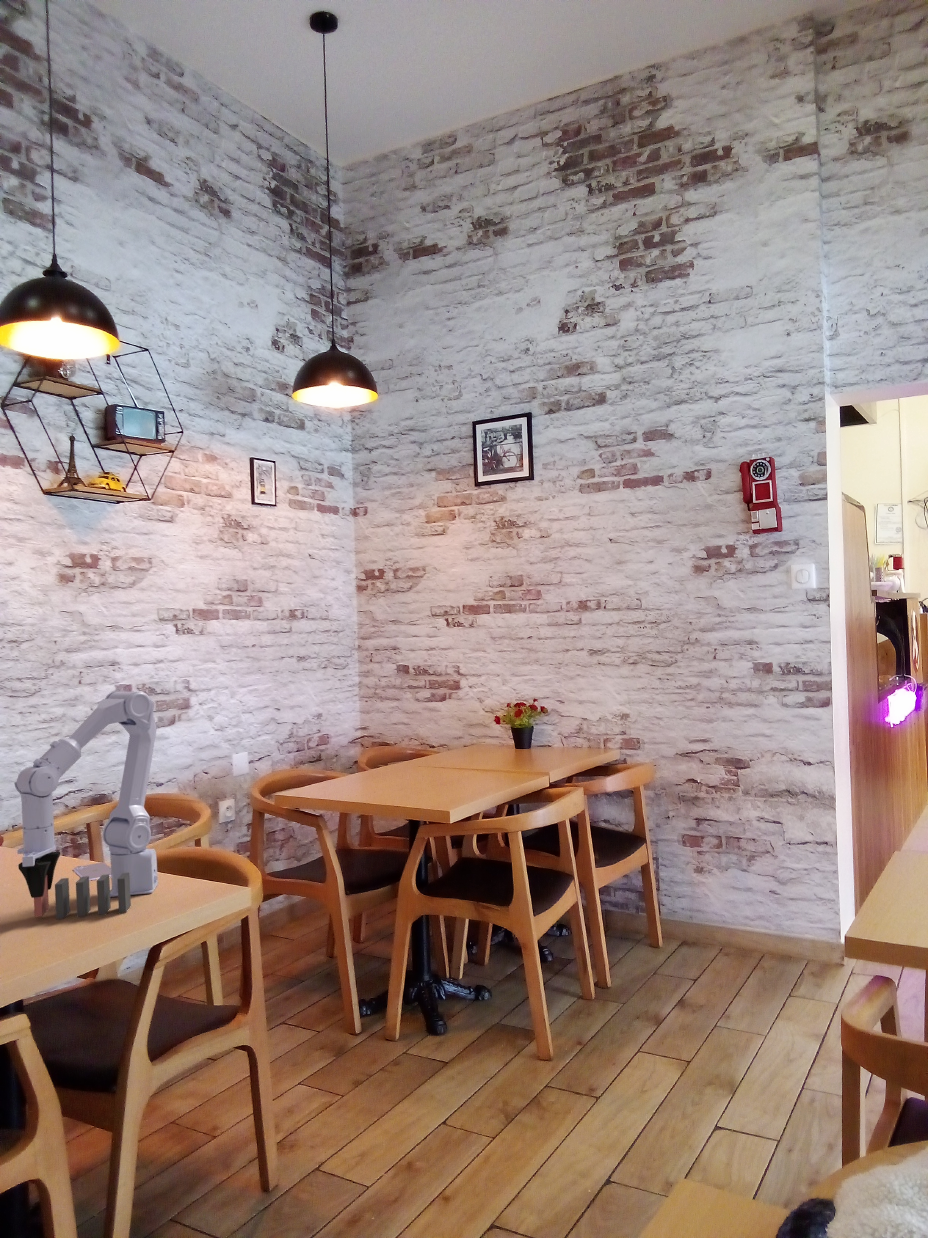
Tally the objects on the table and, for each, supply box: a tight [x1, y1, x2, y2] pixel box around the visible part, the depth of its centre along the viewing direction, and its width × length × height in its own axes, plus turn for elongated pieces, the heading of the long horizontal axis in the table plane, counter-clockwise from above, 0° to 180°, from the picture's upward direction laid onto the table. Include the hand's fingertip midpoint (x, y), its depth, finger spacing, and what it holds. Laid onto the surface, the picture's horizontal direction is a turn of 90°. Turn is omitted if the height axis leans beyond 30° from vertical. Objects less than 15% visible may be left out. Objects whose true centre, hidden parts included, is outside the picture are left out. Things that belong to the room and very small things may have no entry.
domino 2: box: [75, 876, 91, 918], centre depth 180 cm, size 1×4×7 cm, turn 9°
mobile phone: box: [72, 861, 111, 882], centre depth 213 cm, size 8×1×15 cm
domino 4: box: [117, 873, 132, 914], centre depth 182 cm, size 1×4×7 cm, turn 9°
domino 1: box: [54, 877, 71, 920], centre depth 180 cm, size 1×4×7 cm, turn 9°
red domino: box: [33, 875, 50, 917], centre depth 179 cm, size 1×4×7 cm, turn 9°
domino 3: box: [96, 874, 111, 916], centre depth 181 cm, size 1×4×7 cm, turn 9°
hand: (41, 893), depth 179 cm, fingers closed on red domino, 4 cm apart
